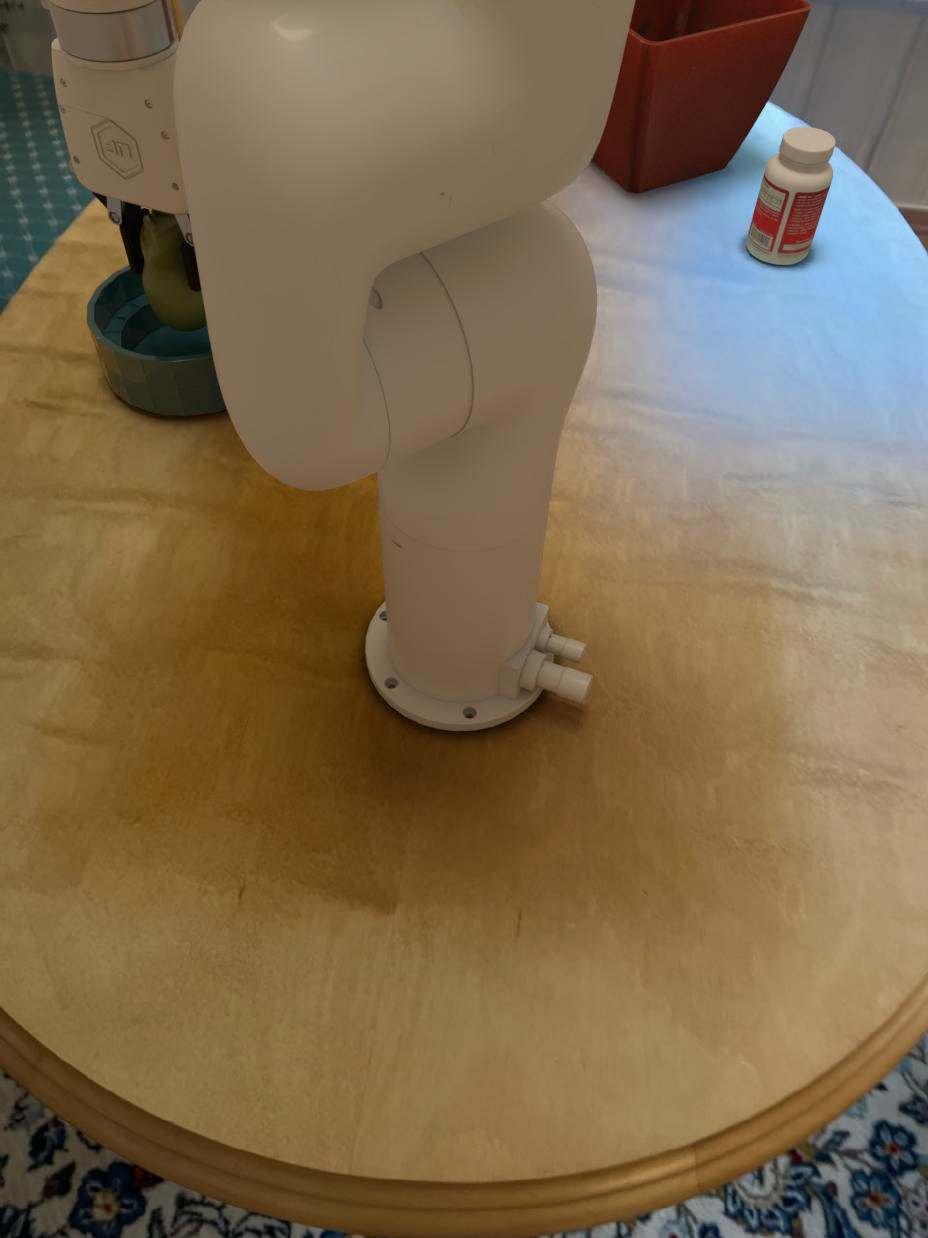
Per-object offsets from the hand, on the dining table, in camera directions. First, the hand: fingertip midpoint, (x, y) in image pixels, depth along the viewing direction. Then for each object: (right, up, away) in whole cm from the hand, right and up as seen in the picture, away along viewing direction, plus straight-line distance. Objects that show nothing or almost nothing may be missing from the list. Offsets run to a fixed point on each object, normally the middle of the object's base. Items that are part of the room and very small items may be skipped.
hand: (175, 271), depth 77 cm
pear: (0, -3, +4) cm, 5 cm away
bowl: (0, -5, +7) cm, 9 cm away
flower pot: (+43, +23, +30) cm, 58 cm away
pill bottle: (+54, +9, +20) cm, 58 cm away
